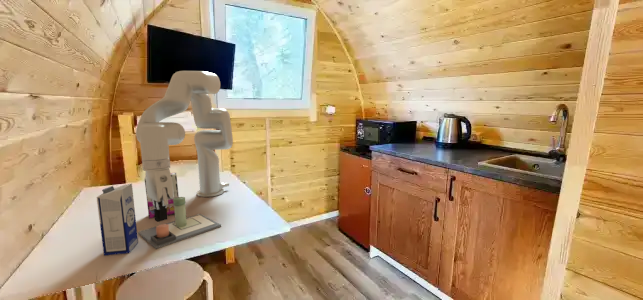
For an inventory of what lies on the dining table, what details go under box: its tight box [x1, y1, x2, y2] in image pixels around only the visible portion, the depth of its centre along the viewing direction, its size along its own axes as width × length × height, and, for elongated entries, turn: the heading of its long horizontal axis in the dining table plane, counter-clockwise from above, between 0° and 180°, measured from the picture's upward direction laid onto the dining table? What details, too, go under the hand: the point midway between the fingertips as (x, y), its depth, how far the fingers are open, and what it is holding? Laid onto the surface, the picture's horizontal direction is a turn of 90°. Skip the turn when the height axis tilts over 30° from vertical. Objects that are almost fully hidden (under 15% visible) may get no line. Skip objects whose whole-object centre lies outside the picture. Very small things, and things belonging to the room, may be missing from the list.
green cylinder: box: [173, 196, 187, 227], centre depth 104 cm, size 4×4×10 cm
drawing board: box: [137, 213, 222, 250], centre depth 103 cm, size 22×16×2 cm
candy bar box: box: [144, 172, 180, 219], centre depth 116 cm, size 11×5×16 cm, turn 117°
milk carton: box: [96, 183, 139, 256], centre depth 88 cm, size 7×7×20 cm
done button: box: [155, 223, 169, 238], centre depth 94 cm, size 4×4×3 cm
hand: (161, 219), depth 93 cm, fingers closed
